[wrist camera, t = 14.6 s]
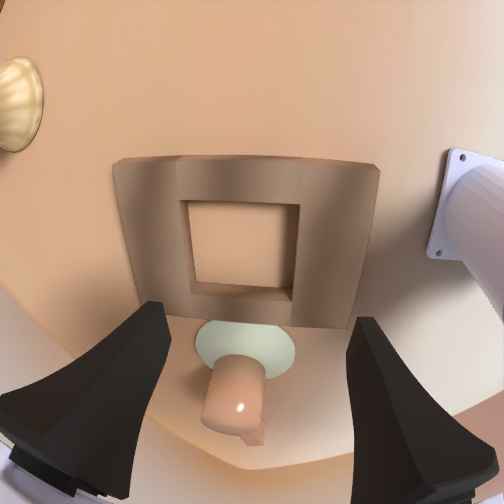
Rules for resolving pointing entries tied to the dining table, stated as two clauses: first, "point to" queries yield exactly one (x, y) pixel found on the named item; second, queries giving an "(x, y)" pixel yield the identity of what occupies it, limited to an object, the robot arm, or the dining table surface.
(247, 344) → the sage mat
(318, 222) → the walnut stand
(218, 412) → the peach rounded piece
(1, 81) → the hand bell
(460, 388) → the dining table surface
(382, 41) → the dining table surface
